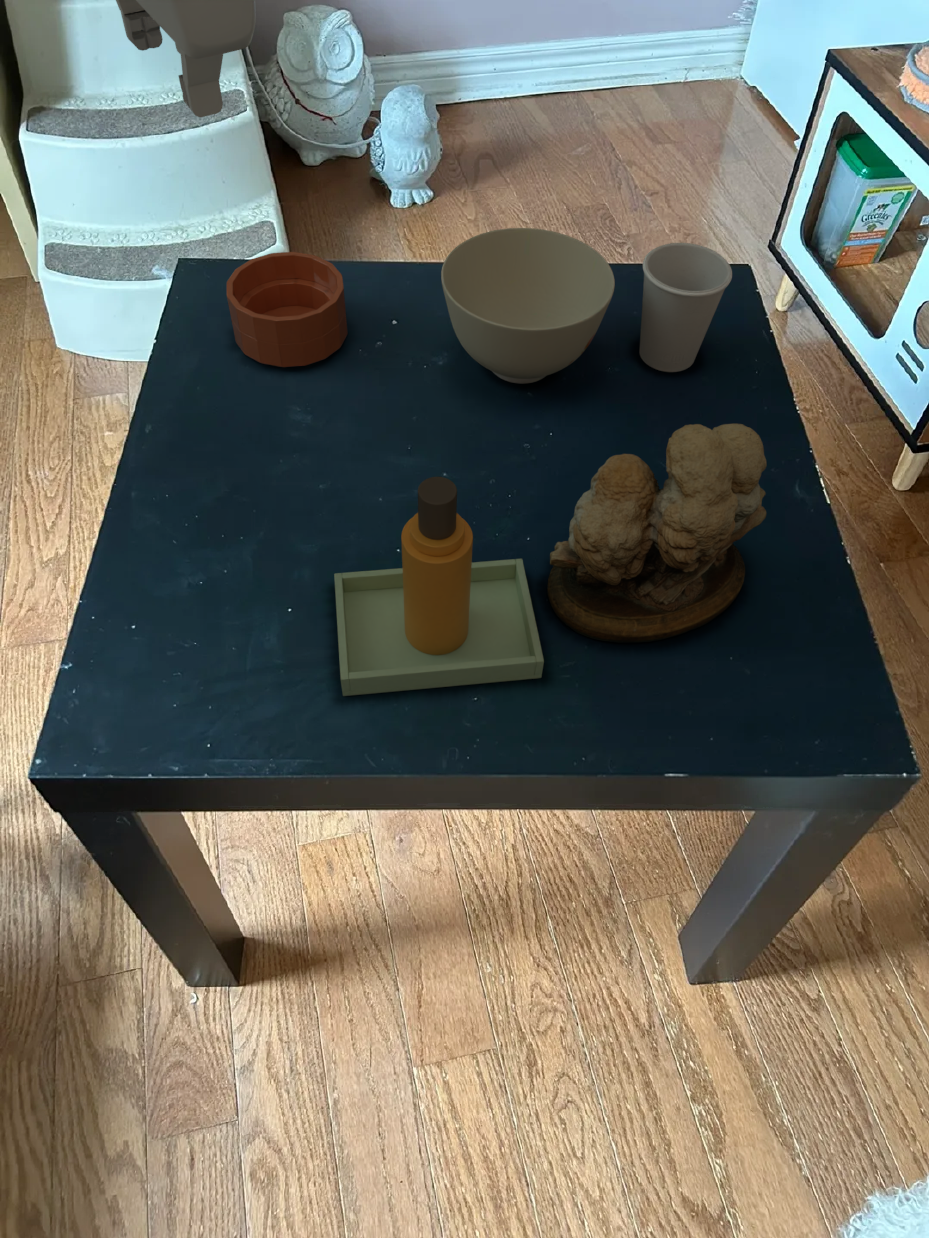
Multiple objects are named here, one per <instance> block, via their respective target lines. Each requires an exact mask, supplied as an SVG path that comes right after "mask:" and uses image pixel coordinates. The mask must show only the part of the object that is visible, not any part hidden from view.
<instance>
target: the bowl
mask: <svg viewBox="0 0 929 1238" xmlns="http://www.w3.org/2000/svg"><path fill="white" fill-rule="evenodd" d="M443 261H444V262H443V263H442V267H441V272H440V276H441V277H440V278H441V287H442V290H443V294H444V299H445V303H446V307H447V311H448V316H449V318H450V323H451V325H452V328H453V331H454V334H455V336H456V337H457V338H456V339H458V341H459V343H460V345H461V346H462V348H463V349H464V350H465V352H466V353H467V354H468V355H469V356H470V357H471V358H472V359H473V360H474V361H475V362H476V363H478V364H479V365H480V366H482V367H483V368H485V369H487V370H489V371H491V372H492V373H493V374H494V375H495V376H496V377H498V378H499V379H501V380H503V381H505V382H508V383H511V384H517V385H518V384H519V385H520V384H521V385H525V384H526V385H527V384H533V383H536V382H538V381H541V380H543V379H544V378H545V377H547V376H550V375H552V374H555V373H558V372H560V371H561V370H563V369H566V368H567V367H569V366H570V365H571V364H573V363H574V362H575V361H577V360H578V358H580V357H581V356H582V355H583V353H584V352H585V351H586V349H588V347H589V346H590V344H591V343H592V342H593V339H594V338H595V336H596V333H597V332H598V329H599V327H600V325H601V323H602V322H603V319H604V317H605V314H606V312H607V310H608V308H609V305H610V303H611V301H612V298H613V295H614V292H615V287H616V285H615V284H616V283H615V282H616V280H615V276H614V272H613V269H612V267H611V266H610V264H609V263H608V261H607V260H606V258H604V256H603V255H602V254H600V253H599V252H598V251H597V250H596V249H594V248H593V247H592V246H590V245H588V244H587V243H585V242H584V241H582V240H579V239H577V238H575V237H572V236H570V235H567V234H564V233H561V232H557V231H554V230H549V229H543V228H533V227H532V228H531V227H511V228H500V229H494V230H490V231H486V232H482V233H480V234H477V235H475V236H471V237H470V238H468V239H466V240H464V241H463V242H461V243H460V244H458V245H457V246H456V247H454V248H453V249H452V250H451V251H450V252H449V253H448V255H447V256H446V258H445V260H443Z"/></svg>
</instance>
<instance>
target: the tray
mask: <svg viewBox="0 0 929 1238" xmlns="http://www.w3.org/2000/svg"><path fill="white" fill-rule="evenodd" d="M333 575H334V592H335V609H336V610H335V611H336V627H337V642H338V644H337V645H338V658H339V675H340V676H339V677H340V686H341V693H342V697H349V696H359V695H371V694H381V693H382V694H383V693H392V692H394V693H395V692H403V691H414V690H425V689H436V688H445V687H447V688H448V687H458V686H468V685H479V684H490V683H491V684H492V683H500V682H512V681H513V682H514V681H523V680H532V679H533V680H534V679H541V678H542V676H543V669H544V663H545V658H544V655H543V649H542V645H541V644H542V643H541V640H540V635H539V631H538V626H537V621H536V616H535V612H534V607H533V602H532V597H531V593H530V587H529V584H528V578H527V575H526V570H525V565H524V560H523V558H511V559H500V560H499V559H497V560H487V561H476V562H475V561H474V562H473V561H472V567H471V586H470V606H469V626H468V635H467V638H466V640H465V642H464V643H463V644H462V645H461V646H460V647H459V648H458V649H456V650H455V651H453V652H450V653H447V654H443V655H430V654H426V653H423V652H421V651H419V650H417V649H416V648H414V647H413V646H412V645H411V644H410V643H409V641H408V639H407V637H406V634H405V621H404V594H403V568H402V567H401V568H398V567H397V568H387V569H385V568H384V569H374V570H373V569H372V570H363V571H348V572H337V573H333Z"/></svg>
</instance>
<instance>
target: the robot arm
mask: <svg viewBox="0 0 929 1238" xmlns="http://www.w3.org/2000/svg"><path fill="white" fill-rule="evenodd" d="M115 2H116V5H117V7H118V9H119V11H120V15H121V19H122V24H123V28H124V31H125V35H126V37H127V40H128V41H129V42H131V44H132V45H134V47H135V48H136V49H137V50H139V51H142V52H143V51H148V50H149V49H157V48H160V46H161V45H162V44H163V35H162V31H161V29H162V30H163V31H164V33H165V34H166V35H167V36H169V38H170V39H171V40H172V41H173V42H174V45H175V49H176V52H177V53H178V54H180V62H181V72H182V74H179V75H178V80H179V86H180V89H181V93H182V100H183V102H184V104H185V105H186V106H187V107H188V109H189V110H190V111H191V113H192V114H193V116H195V117H198V118H204V117H208V116H212V115H217V114H219V113H220V112H221V111H222V109H223V107H224V106H223V105H224V103H223V97H222V91H221V84H220V79H221V72H222V64H223V58H224V54H228V53H232V52H236V51H240V50H243V49H246V48H248V47H249V46H250V44H251V42H252V39H253V36H254V32H255V28H256V19H257V18H256V17H257V15H256V14H257V11H256V0H115Z"/></svg>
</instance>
